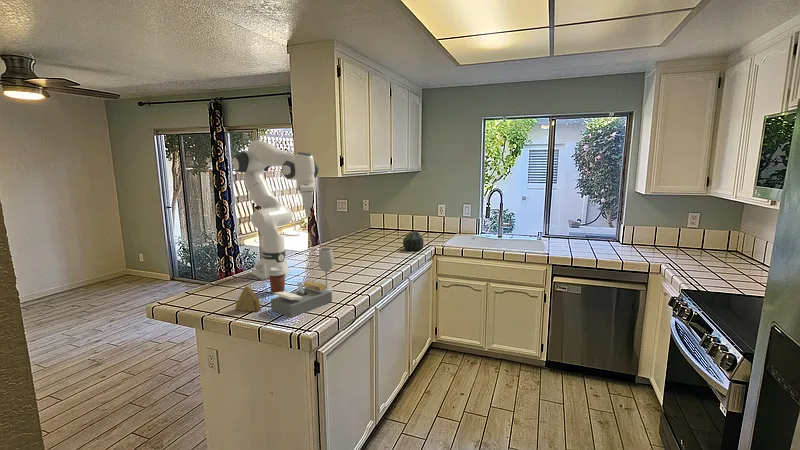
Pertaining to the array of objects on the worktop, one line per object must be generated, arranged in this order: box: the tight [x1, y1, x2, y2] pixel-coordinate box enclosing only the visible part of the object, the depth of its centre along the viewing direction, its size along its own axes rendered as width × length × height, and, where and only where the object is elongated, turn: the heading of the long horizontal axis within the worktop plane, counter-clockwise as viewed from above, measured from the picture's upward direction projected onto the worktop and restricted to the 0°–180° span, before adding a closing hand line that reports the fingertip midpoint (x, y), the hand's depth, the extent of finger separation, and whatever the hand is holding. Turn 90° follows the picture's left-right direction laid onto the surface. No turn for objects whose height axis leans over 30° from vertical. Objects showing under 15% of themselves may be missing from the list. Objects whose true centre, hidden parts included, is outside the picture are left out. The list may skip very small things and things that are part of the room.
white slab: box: [274, 291, 302, 300], centre depth 170 cm, size 11×6×1 cm, turn 54°
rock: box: [234, 286, 262, 312], centre depth 171 cm, size 11×9×10 cm
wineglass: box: [317, 247, 335, 292], centre depth 198 cm, size 8×8×21 cm
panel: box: [270, 287, 333, 318], centre depth 176 cm, size 14×23×7 cm, turn 144°
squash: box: [402, 231, 425, 251], centre depth 288 cm, size 14×15×15 cm
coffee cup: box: [268, 267, 286, 295], centre depth 195 cm, size 9×9×12 cm
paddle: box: [296, 281, 305, 295], centre depth 176 cm, size 2×2×6 cm
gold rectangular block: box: [303, 280, 326, 291], centre depth 182 cm, size 11×4×2 cm, turn 54°
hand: (307, 215), depth 189 cm, fingers open, 8 cm apart
